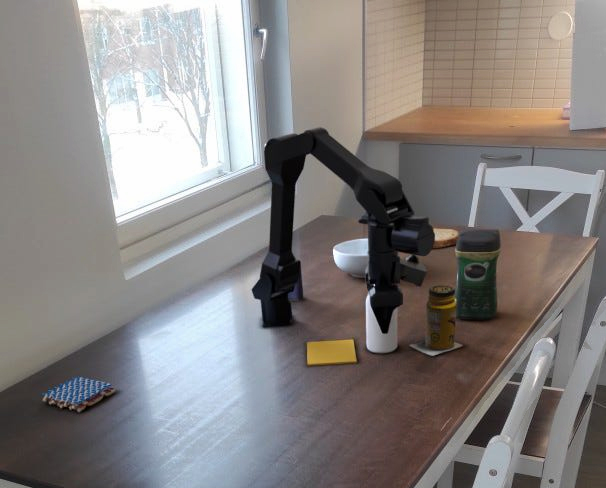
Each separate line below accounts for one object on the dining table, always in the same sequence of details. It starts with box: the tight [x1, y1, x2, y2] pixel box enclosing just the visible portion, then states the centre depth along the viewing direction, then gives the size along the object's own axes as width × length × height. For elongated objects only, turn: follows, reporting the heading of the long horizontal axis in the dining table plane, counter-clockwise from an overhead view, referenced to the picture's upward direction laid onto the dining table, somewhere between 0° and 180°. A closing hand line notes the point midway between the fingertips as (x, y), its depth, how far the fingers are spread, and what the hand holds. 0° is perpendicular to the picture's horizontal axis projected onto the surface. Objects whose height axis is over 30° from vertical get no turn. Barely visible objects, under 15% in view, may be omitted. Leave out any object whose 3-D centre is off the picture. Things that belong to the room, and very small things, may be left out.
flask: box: [288, 264, 304, 302], centre depth 197 cm, size 9×3×11 cm, turn 71°
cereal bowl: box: [332, 238, 368, 279], centre depth 210 cm, size 17×17×7 cm
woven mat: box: [41, 376, 116, 413], centre depth 158 cm, size 10×11×2 cm
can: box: [365, 290, 399, 355], centre depth 166 cm, size 6×6×12 cm
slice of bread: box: [432, 227, 460, 249], centre depth 231 cm, size 18×18×4 cm
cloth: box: [306, 339, 358, 367], centre depth 169 cm, size 10×12×1 cm
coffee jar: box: [455, 228, 502, 321], centre depth 177 cm, size 10×8×19 cm
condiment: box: [409, 284, 464, 357], centre depth 165 cm, size 7×8×12 cm
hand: (383, 326), depth 166 cm, fingers open, 8 cm apart
